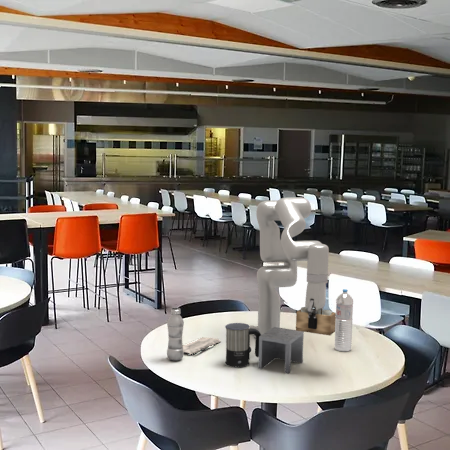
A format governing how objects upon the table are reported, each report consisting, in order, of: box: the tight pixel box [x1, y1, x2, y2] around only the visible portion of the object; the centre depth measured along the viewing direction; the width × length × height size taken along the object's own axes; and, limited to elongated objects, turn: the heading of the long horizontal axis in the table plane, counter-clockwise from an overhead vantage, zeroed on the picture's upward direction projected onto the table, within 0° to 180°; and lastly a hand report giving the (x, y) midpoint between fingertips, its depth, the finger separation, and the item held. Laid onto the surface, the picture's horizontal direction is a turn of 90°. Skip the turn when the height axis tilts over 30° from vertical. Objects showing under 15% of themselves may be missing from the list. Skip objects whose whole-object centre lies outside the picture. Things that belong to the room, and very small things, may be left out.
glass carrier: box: [295, 306, 336, 336], centre depth 231 cm, size 13×6×8 cm, turn 63°
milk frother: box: [224, 322, 261, 368], centre depth 243 cm, size 14×16×15 cm
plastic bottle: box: [166, 307, 185, 361], centre depth 242 cm, size 6×7×20 cm
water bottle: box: [334, 289, 354, 352], centre depth 258 cm, size 7×7×25 cm
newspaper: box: [183, 336, 222, 356], centre depth 260 cm, size 23×12×2 cm, turn 147°
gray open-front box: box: [257, 327, 305, 375], centre depth 238 cm, size 12×15×12 cm
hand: (315, 325), depth 232 cm, fingers closed on glass carrier, 6 cm apart
